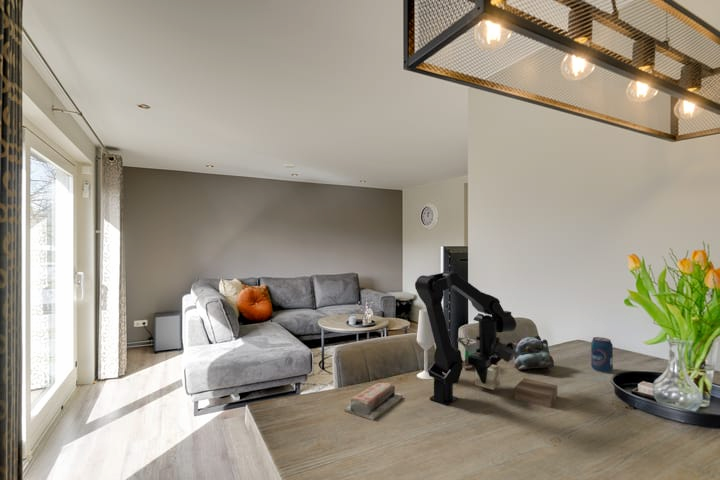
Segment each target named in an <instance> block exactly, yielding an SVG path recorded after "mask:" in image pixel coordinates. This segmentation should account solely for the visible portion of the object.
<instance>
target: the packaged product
mask: <svg viewBox="0 0 720 480" xmlns="http://www.w3.org/2000/svg"><path fill="white" fill-rule="evenodd" d="M402 398H403V393H401V392H400V393H399V392H396V386H395V385H394V384H392V383H391V382H378V383H375V384H373V385H372V386H370V387H368V388H367V389H365V390H363V391H362V392H360V393H358V394H356V395H355V396H353V397H352V398H351V399H350V404H349V405H348V406H346V407H344V409H343V410H344V412H345V413H350V414H353V415H355V416H359V417H361V418H364V419H368V420H371V421H374V420H375V419H377V418H378V417H379V416H380V415H382V414H383V413H385V412H386V411H387V410H389V409H390V408H392V407H393V406H394V405H395V404H396V403H398V402H399V401H401V400H402Z"/></svg>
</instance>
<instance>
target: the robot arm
mask: <svg viewBox="0 0 720 480" xmlns="http://www.w3.org/2000/svg"><path fill="white" fill-rule="evenodd" d="M414 286H415V287H414V288H415V290H416V293H417V295H418V297H419V298H420V300H421V301H422V303H423V304H424V305H425V308H426V310H427V313H428V317H429V321H430V325H431V329H432V333H433V337H434V341H435V343H434V344H435V351H434V353H433V354H434V355H433V359H434V362H433V363H432V364H431V366H430V367H429V368H428V373H429V376H430V377H433V395H432V396H430V397H429V400H430V401H433V402H437V403H438V404H439V403H440V404H443V405H445V406H450V405H451V404H453V403H454V402H455V401H456V400H458V397H457V396H454V384H458V383H459V381H460V377H461V373H462V370H463V365H462V363H463V360H462V357H461V352H460V350H458V348H455V347H454V346H453V344H452V341H451V340H452V339H451V336H450V333H449V329H448V324H447V320H446V317H445V312H444V308H443V304H442V302H443V299H444V293H445V291H447V290H448V289H450V288H452V289H453V290H455V291H456V292H458V293H459V294H460V295H462V296H463V297H464V298H466V300H469V301H470V302H471V306H472V307H473V308H474V309H475V310H476V311H477V312H479V313H477V315H476V316H474V317H473V321H476V322H478V336H476V340H477V341H478V348H477V349H476V353H473V354H471V355H469V356H468V357H467V363H468V364H471V365H473V366H474V369H476V371H477V373H478V375H479V378H480V380H481V382H482V383H483V384H485V383H486V379H487V371H488V368H489V367H490V366H492V365H496V366H498V363H499V362H501V361H502V360H503V361H505V362H507V363H508V362H511V361H512V360H513V359H514V354H516V349H515V345H514V344H513V342H511V341H510V342H508V343H507V344H506V343H503V342H501V339H500V337H499V336H498V335H497V334H498V333H506V332H508V333H509V332H513V331H515V330H516V327H517V322H516V319H515V318H514V316H513V315H512V311H508V310H504V308H503V307H502V305H501V301H500V299H498V298H497V297H496V296H493V295H490V294H489V293H488V294H487V293H485V292H483V291H481V290H479V289H478V288H476V287H475V286H474V285H472V284H471V283H470V282H469V281H467V280H466V279H464V278H463V277H461V276H460V275H459V273H457V272H456V271H447V270H446V271H443V272H441V273H436V274H431V275H420V276H418V277H417V279H416V281H415V282H414ZM476 340H475V341H476Z"/></svg>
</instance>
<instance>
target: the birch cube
mask: <svg viewBox="0 0 720 480" xmlns="http://www.w3.org/2000/svg"><path fill="white" fill-rule="evenodd" d="M474 369H475V368H474ZM474 372H475V373H474V376H475V377H474V378H475V379H474V381H475V386H477V387H478V386H479V387H483V388H486V389H490V390H494V389H496V388H497V387H499V386H501V366H500V365H497V366H496V365H492V366H490V367H489V368H488V371H487V379H486V383H485V384H483V383H482V382H481V380H480V378H479V375H478V373H477V371H476V369H475V371H474Z"/></svg>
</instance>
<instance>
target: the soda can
mask: <svg viewBox="0 0 720 480" xmlns="http://www.w3.org/2000/svg"><path fill="white" fill-rule="evenodd" d="M613 349H614V347H613V343H612V340H611V339H609V338H606V337H601V336H599V337H598V336H597V337H596V336H595V337H593V338H592V340H591V342H590V366H591V367H592V369H593V371H595V372H598V373H603V374H605V373H606V374H608V373H609V374H610V373H611V372H612V371H613V369H614V366H613V365H614V361H613V360H614V359H613V358H614V357H613V356H614V353H613V351H614V350H613Z"/></svg>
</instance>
